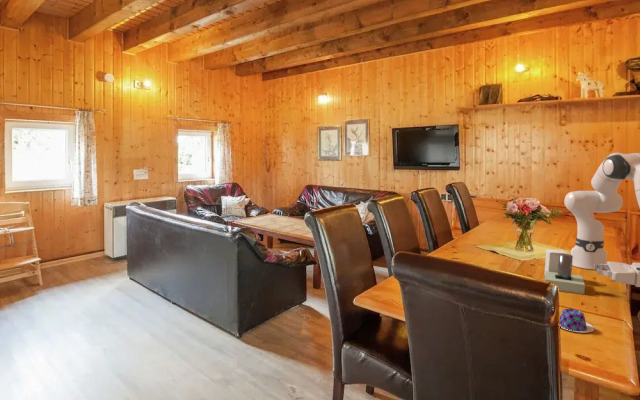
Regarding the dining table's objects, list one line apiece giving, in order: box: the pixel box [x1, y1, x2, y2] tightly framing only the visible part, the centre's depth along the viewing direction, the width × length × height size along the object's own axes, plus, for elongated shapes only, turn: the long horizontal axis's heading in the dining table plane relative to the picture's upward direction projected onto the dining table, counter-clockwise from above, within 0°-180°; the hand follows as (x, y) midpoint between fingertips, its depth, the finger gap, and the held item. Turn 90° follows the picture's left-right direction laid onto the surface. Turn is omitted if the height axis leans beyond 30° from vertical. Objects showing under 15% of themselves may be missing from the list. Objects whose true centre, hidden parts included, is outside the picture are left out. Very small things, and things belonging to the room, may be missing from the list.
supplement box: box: [543, 248, 568, 276], centre depth 181 cm, size 7×7×13 cm
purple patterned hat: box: [559, 308, 595, 334], centre depth 130 cm, size 12×12×5 cm
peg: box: [557, 253, 573, 281], centre depth 168 cm, size 5×5×14 cm
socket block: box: [544, 270, 586, 295], centre depth 169 cm, size 14×14×4 cm
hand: (595, 268), depth 163 cm, fingers open, 8 cm apart
